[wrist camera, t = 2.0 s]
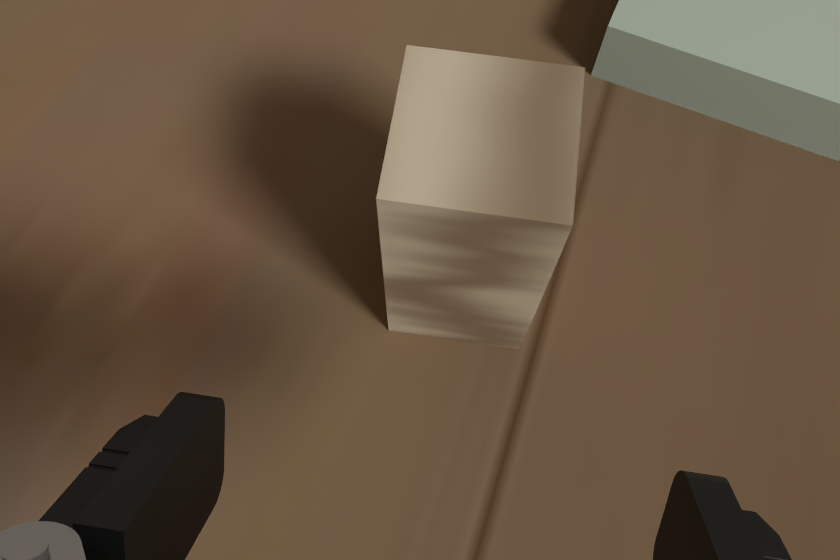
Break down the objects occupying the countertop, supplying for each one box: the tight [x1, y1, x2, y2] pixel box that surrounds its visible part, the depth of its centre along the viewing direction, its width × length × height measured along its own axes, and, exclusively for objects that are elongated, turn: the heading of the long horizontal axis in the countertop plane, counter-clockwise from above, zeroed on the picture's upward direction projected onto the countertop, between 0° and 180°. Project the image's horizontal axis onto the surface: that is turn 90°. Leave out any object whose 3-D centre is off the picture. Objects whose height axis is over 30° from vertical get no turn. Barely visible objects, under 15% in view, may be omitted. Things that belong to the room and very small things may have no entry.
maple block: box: [376, 45, 585, 349], centre depth 24 cm, size 5×5×10 cm
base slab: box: [591, 0, 840, 161], centre depth 33 cm, size 11×11×4 cm
